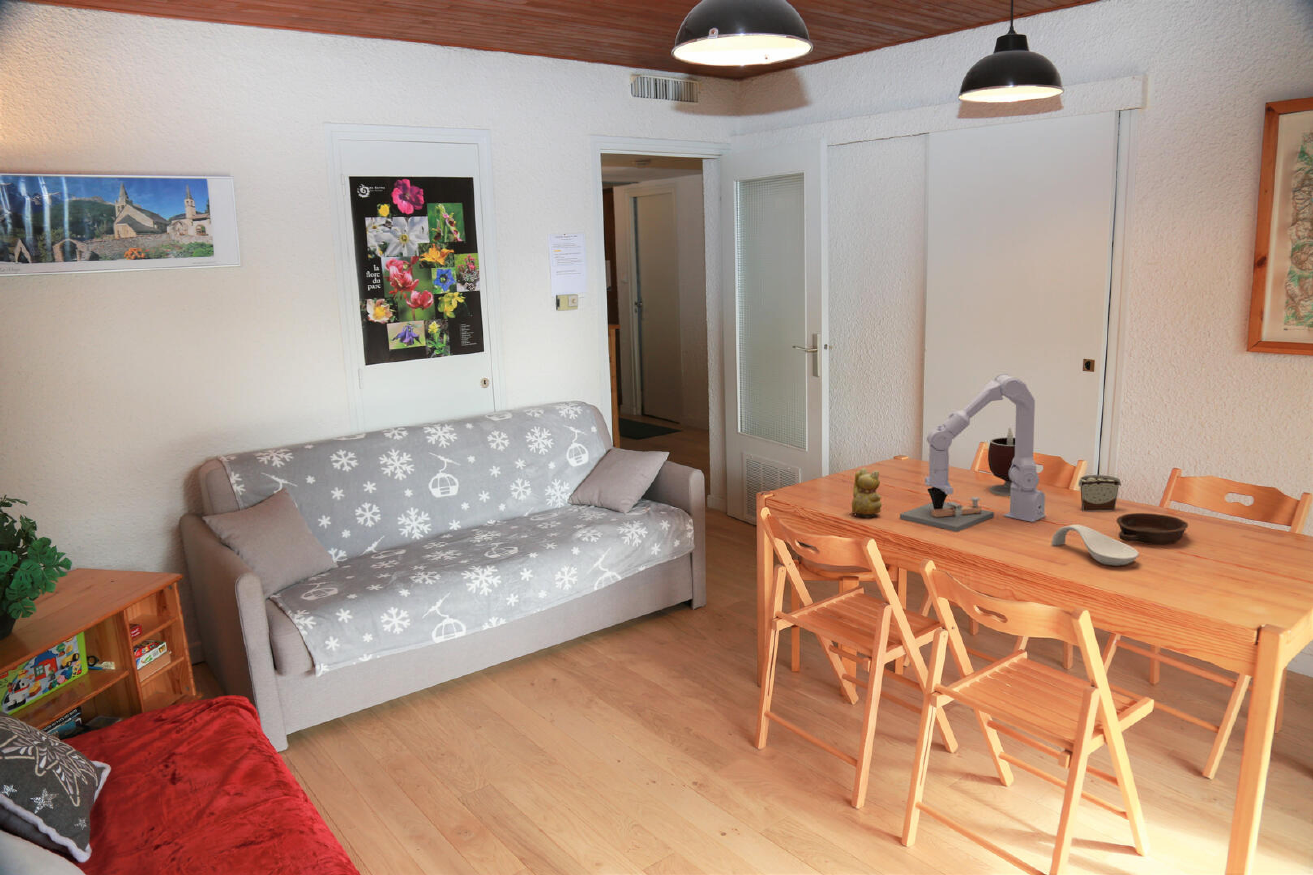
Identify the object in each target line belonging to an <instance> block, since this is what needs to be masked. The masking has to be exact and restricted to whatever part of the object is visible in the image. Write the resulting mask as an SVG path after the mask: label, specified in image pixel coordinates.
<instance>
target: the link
mask: <svg viewBox="0 0 1313 875" xmlns="http://www.w3.org/2000/svg"><path fill="white" fill-rule="evenodd" d="M970 500H971V501H972V505H967V506H966V505H965V506H964V505H963V506H964V507H962V514H972V513H981V510H982V506H980V505H978V503H979V501H980V497H977V496H972V497H971V498H970ZM932 515H933V516H935V517H941V516H952V515H954V509H953V508H943V509H933V510H932Z"/></svg>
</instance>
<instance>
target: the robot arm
mask: <svg viewBox="0 0 1313 875" xmlns="http://www.w3.org/2000/svg"><path fill="white" fill-rule="evenodd" d="M1004 397H1005V398H1007V399H1008V400H1009V401H1010V402H1012V403H1013V404H1014V405H1015V433H1014V438H1015V456H1014V458H1013V460H1012V466H1011V468H1010V470H1009V478H1010V480H1011V481H1012V484H1011V492H1010V496H1009V497H1010V498H1009V512H1008V513H1007V512H1006V513H1004V514H1003V516H1004V517H1006V518H1011V519H1014V520H1015V519H1016V520H1022V521H1026V522H1033V523H1034V522H1036V521H1038V520H1041V519H1043V518H1045V517H1046V514H1045V508H1046V507H1045V506H1046V496H1045V493H1044V492H1043V491H1041V490H1038V489H1037V487H1038V485H1039V482H1040V475H1039V474H1038V471H1037V464H1036V461H1035V460H1034V445H1035V444H1034V440H1035V439H1034V438H1035V435H1034V434H1035V407H1036V406H1035V405H1036V404H1035V403H1036V400H1035V398H1034V396H1033V395H1032V392H1030V390H1029V388H1028V387H1027V384H1026V383H1025V382H1023V381H1022V380H1021V379H1019V378H1017V377H1014V376H1012V375H1010V374H1007V373H999V374H998V375H996V377H994V379H992V380H991V381H989V382H988V383H987V385H985V387H983V388H982V390H981V391H980V392H978V394H977V395H976V396H975V397H974V398H973V399H972V400H971V401H970V402H969V403H968V404H967V405H966V406H965V407H964V408H963V409H962V410H955V411H954V412H950V413H949V414H948V417H947V419H945V420H944V421H943V422H942V423H941V424H940V423H939V424H937V426H936V428H933V429H932V430H930V431H929V432H928V435H927V437H926V441H927V443H928V444H929V450H928V451H929V452H928V476H925V477H924V484H925V486H927V487H930V488H927V492H928V494H929V496H930V499H931V503H933V507H934V509H942V508H943V505H944V502H945V501H946V500H947V497H948V495H953V494H954V488H953V487H952V485H951V484H950V482H949V461H950V459H949V458H950V456H949V448H950V447H951V445H952V442H953V440H954V439H955V438H957V437H958V436H959V435H960V434H961V433H962V432H963V431H965V429H966V428H968V426H969V425H971V424H970V423H971V422H970V421H971V418H972V417H974V416H975V415H976V414H978V413H979V412H980V411H981V410H982V409H983V408H985V407H986V406H987V405H988V404H990V403H991V402H995V401H1003V400H1004Z"/></svg>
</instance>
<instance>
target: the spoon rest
mask: <svg viewBox="0 0 1313 875" xmlns="http://www.w3.org/2000/svg"><path fill="white" fill-rule="evenodd" d="M1069 531H1075V532H1077V533H1078V534H1079V536H1080V538H1081V539H1082V541H1083V544H1084V546H1085V547H1086V549H1087V551H1088V552H1089V554H1090V555H1091V557H1092V558H1093V559H1095V560H1096V561H1097V562H1098V563H1099V562H1100V563H1099V564H1101V563H1103V564H1102V565H1105V564H1106V565H1105V566H1110V565H1113V566H1112V567H1117V566H1120V565H1121V566H1125V565H1129V564H1131V563H1132V562H1133V561H1135V560H1137V558H1138V557H1139V555H1140V553H1139V551H1138V550H1137V549H1136V548H1134V547H1132V546H1131V545H1128V544H1126V543H1123V542H1122V541H1119V540H1116V539H1114V538H1112V537H1110V536H1108V535H1106V534H1103V533H1102V532H1099V531H1097V530H1095V529H1092V528H1090V527H1088V526H1084V525H1081V524H1071V525H1065V526H1062V527H1060V528H1058V530H1056V532H1055V533H1054V534H1053V536H1052V539H1051V546H1052V547H1053V546H1054V547H1057V546H1060V545H1064V544H1065V543H1066V537H1067V534H1068V533H1069ZM1121 566H1120V567H1121Z"/></svg>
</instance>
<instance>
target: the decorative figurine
mask: <svg viewBox="0 0 1313 875" xmlns="http://www.w3.org/2000/svg"><path fill="white" fill-rule="evenodd" d="M854 476H855V477H854V484H853V489H852V490H853V491H852V495H853V499H852V502H851V510H852V512H853V513H854V514H856V515H855V516H857V515H859V516H858V517H862V518H866V519H867V518H868V519H869V518H870V517H875V515H877V514H879V513H881V511H882V509H881V508H882V506H883V505H882V501H881V499H882V496H881V495H880V494H878V493H877V489H878V488H879V487H880V483H881V482H880V479H879V477H880V472H879V470H877V469H876V470H875V469H874V470H873V471H872V472H871V473H869V472H868V469H867V468H866V467H862V468H861V469H860V470H857V471H856V472H855V474H854Z"/></svg>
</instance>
